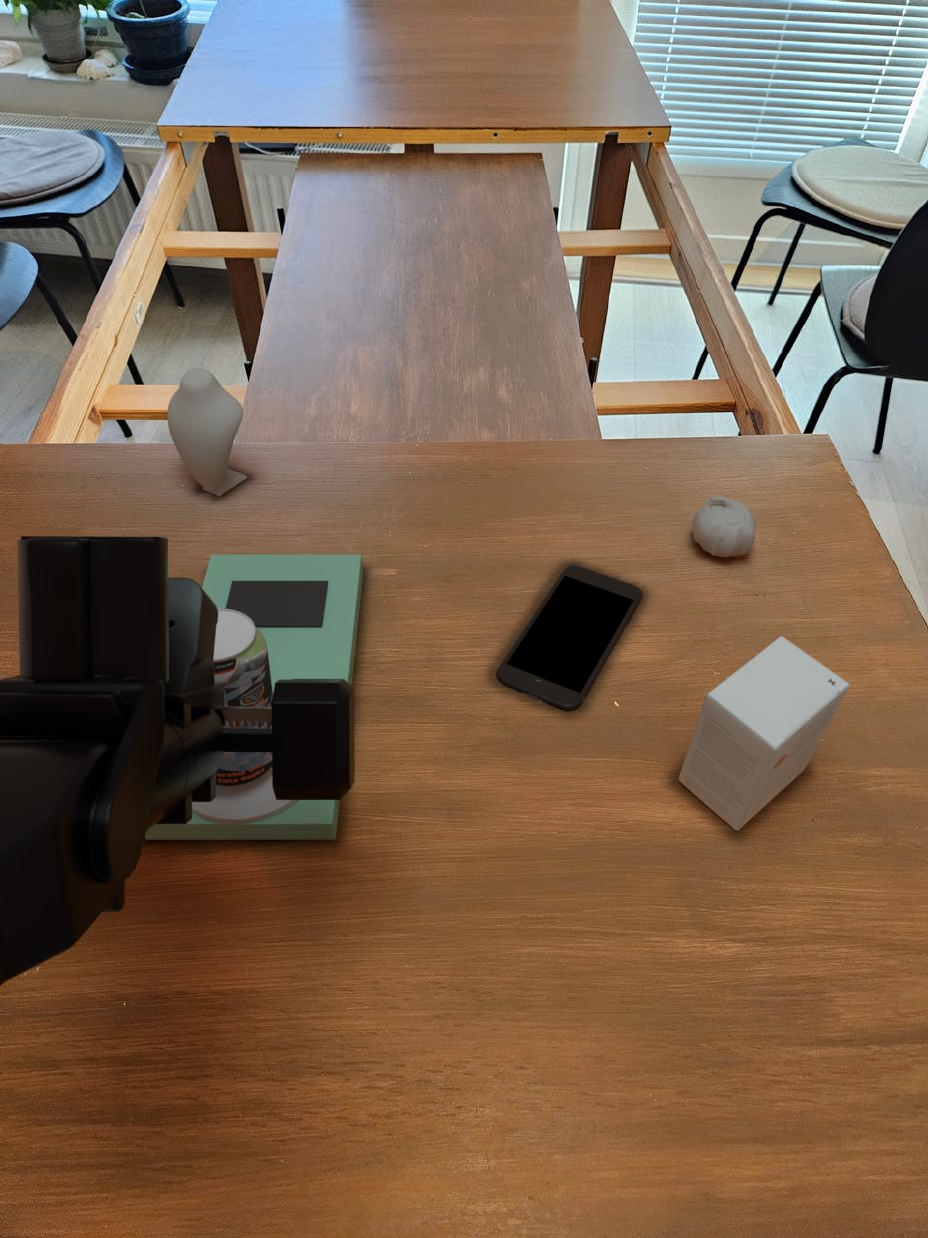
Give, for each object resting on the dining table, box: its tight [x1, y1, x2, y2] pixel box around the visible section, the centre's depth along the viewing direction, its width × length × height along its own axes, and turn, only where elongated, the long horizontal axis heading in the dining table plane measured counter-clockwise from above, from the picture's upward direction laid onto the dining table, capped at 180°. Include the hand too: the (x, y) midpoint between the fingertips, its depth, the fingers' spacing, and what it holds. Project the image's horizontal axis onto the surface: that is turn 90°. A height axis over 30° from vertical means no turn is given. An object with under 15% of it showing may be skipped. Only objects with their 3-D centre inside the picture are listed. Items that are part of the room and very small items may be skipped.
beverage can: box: [213, 609, 273, 786], centre depth 58 cm, size 6×7×12 cm
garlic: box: [691, 495, 757, 558], centre depth 79 cm, size 6×5×5 cm
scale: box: [144, 553, 364, 841], centre depth 69 cm, size 26×13×3 cm, turn 0°
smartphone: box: [495, 564, 643, 712], centre depth 74 cm, size 7×15×1 cm, turn 151°
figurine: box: [166, 367, 248, 497], centre depth 82 cm, size 8×5×12 cm
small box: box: [678, 635, 851, 832], centre depth 61 cm, size 8×6×10 cm
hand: (218, 715), depth 56 cm, fingers open, 9 cm apart
